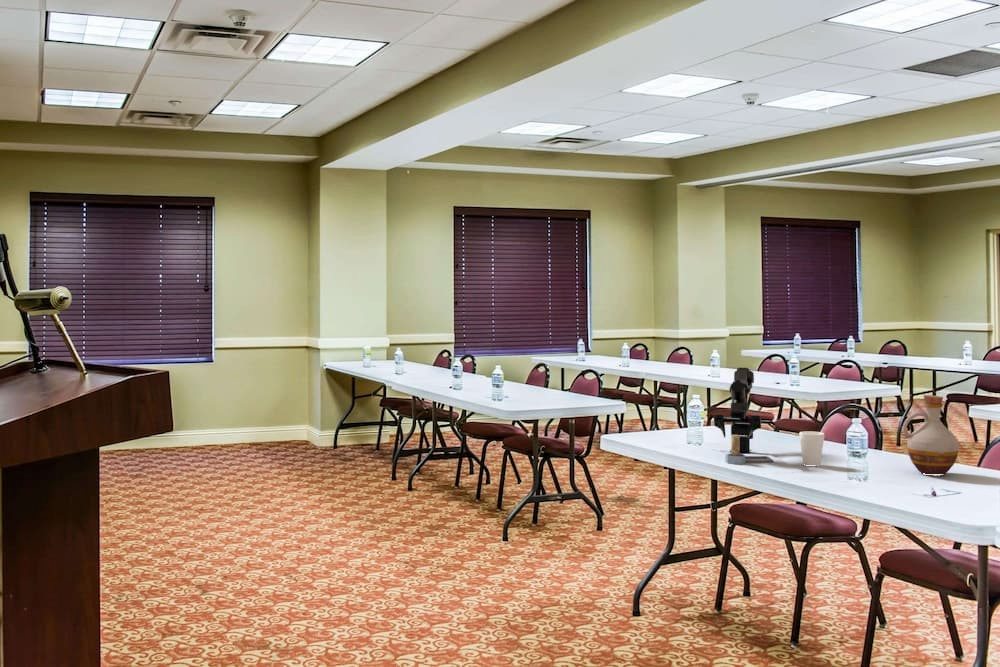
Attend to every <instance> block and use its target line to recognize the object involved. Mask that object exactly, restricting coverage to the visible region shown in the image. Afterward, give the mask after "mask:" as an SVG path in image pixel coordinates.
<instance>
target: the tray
mask: <svg viewBox="0 0 1000 667" xmlns="http://www.w3.org/2000/svg"><path fill="white" fill-rule="evenodd" d="M747 463H749V464H757V463H759V464H760V463H762V464H764V463H765V464H766V463H771V464H773V463H775V461H774V459H772V458H771V457H769V456H768V455H763V456H762V455H759V456H758V455H752V456H751V455H749V456H748V455H747V456H746V455H745V464H747Z"/></svg>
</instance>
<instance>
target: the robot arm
mask: <svg viewBox="0 0 1000 667" xmlns="http://www.w3.org/2000/svg"><path fill="white" fill-rule="evenodd" d="M754 374H755V373H754V371H751V370H750V368H749V367H737V368H736V370H735V371H734V373H733V380H734V381H732V383H731V385H730V386H729V393H730V396H731V402H730V410H729V416H727V417H726V416H725V414H724V413H715V414H714V415H713V423H714V427H716V428H718V429H720V431H721V432H722V436H723V438H726V436H727V434H726V425H725V423H730V424H731V425H730V435H740V454H751V453H752V451H751V450H750V445H751V443H750V440H752V439H753V440H754V432H755V431H757V430H758V429H761V428H762V417H761V415H760V414H758V415H757V414H751V415H750V417H749V416H748V411H749V394H750V393H751V390H752V389H753V384H754V383H755V375H754Z"/></svg>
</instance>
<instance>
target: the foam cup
mask: <svg viewBox="0 0 1000 667" xmlns="http://www.w3.org/2000/svg"><path fill="white" fill-rule="evenodd" d="M798 436H799V437H798V438H799V440H800V449H801V457H802V464H805V465H820V466H821V461H822V454H823V447H824V441H825V433H824V432H821V431H811V430H810V431H806V430H805V431H800V432H799V434H798Z"/></svg>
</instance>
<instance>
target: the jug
mask: <svg viewBox="0 0 1000 667" xmlns="http://www.w3.org/2000/svg"><path fill="white" fill-rule="evenodd" d="M943 399H944V396H940V395H931V394H923V400H924V402H923V407H924V408H925V412H924V411H915V412H914V413H911V414H910V415H909V416H908V417H907V418H906V419H905V420H904V422H903V424H902V432H903V435H904V436H905V437H907V438H908V439H907V442H906V447H907V448H906V450H907V453H908V457H909V459H910V461H911V463H912V464H913V466H914V467H915V468H916V470H917V471H918V472H919V473H920V472H921V473H925V474H945V475H946V473H948V472H949V471H950V469H951V468H952V467H954V465H955V463H956V460H957V459H958V456H959V452H960V443H959V441H958V438H957V437H956V435H955V434H954V433H952V431H951V430H949V428H948V427H946V426H945V425H944V424H943V422H941V410H942V408H943V406H944V404H943ZM919 416H922V417H923V418H924V422H923V423H922V424H921V425H920V426H919V427H917V428H916V429H915V430H914V431H913V432H911V433H908V431H907V430H908V425H909V423H910V422H911V421H912V420H913V419H915V418H916V417H919ZM921 473H920V474H921Z"/></svg>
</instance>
